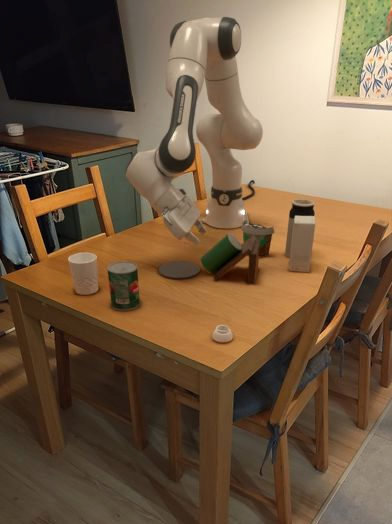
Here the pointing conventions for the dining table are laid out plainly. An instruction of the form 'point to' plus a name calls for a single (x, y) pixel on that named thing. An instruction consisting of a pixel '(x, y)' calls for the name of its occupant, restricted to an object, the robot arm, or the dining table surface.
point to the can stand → (247, 247)
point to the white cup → (84, 272)
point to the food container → (258, 236)
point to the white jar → (222, 334)
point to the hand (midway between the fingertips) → (201, 237)
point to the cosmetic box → (302, 243)
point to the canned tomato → (123, 285)
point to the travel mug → (298, 209)
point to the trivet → (179, 270)
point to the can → (220, 253)
